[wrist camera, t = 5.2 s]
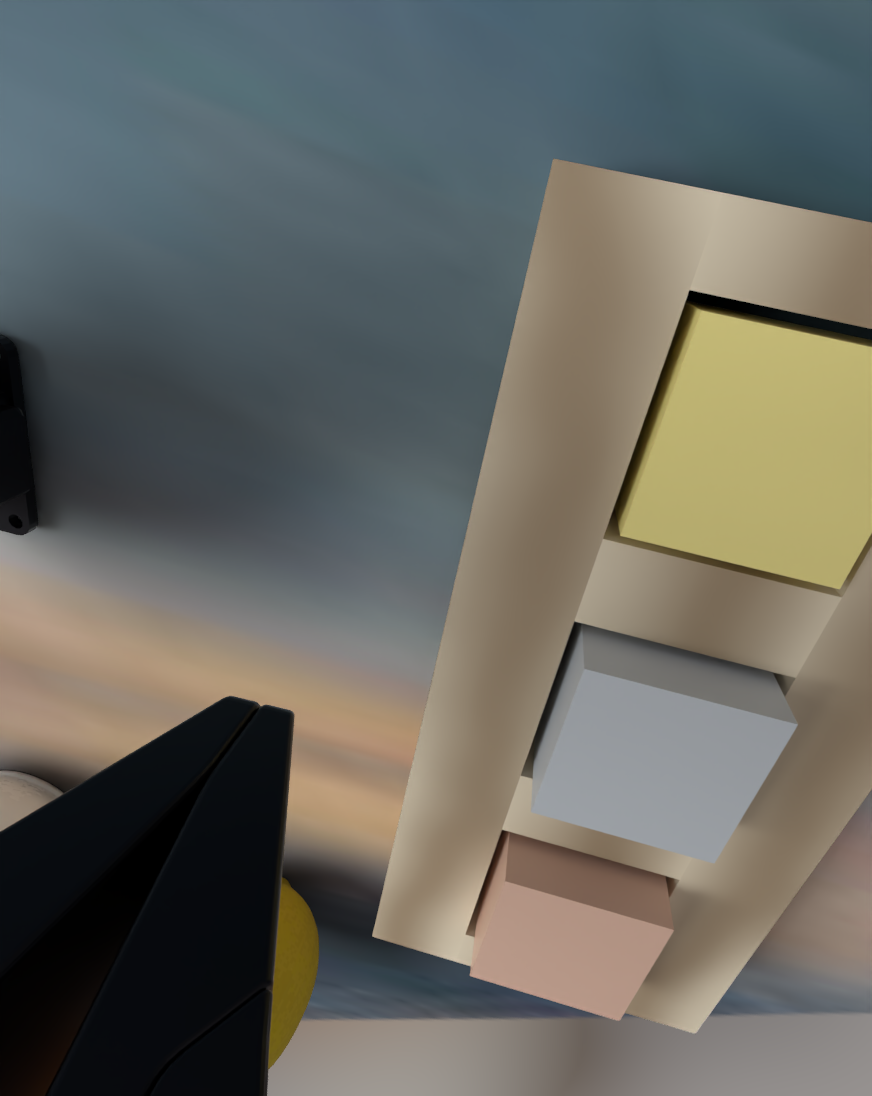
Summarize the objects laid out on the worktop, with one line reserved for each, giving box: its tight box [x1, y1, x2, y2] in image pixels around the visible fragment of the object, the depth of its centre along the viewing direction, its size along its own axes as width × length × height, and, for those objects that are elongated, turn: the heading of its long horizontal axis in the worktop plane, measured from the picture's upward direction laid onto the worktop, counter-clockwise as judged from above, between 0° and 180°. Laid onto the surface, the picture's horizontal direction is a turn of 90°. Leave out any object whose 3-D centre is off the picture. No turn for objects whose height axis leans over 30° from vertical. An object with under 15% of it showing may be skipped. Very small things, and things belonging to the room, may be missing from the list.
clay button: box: [470, 830, 674, 1021], centre depth 21 cm, size 5×5×3 cm
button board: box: [372, 159, 872, 1034], centre depth 19 cm, size 12×25×3 cm, turn 169°
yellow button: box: [615, 300, 872, 589], centre depth 15 cm, size 5×5×3 cm
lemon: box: [268, 878, 319, 1069], centre depth 24 cm, size 6×6×8 cm
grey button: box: [531, 622, 798, 863], centre depth 17 cm, size 5×5×3 cm
